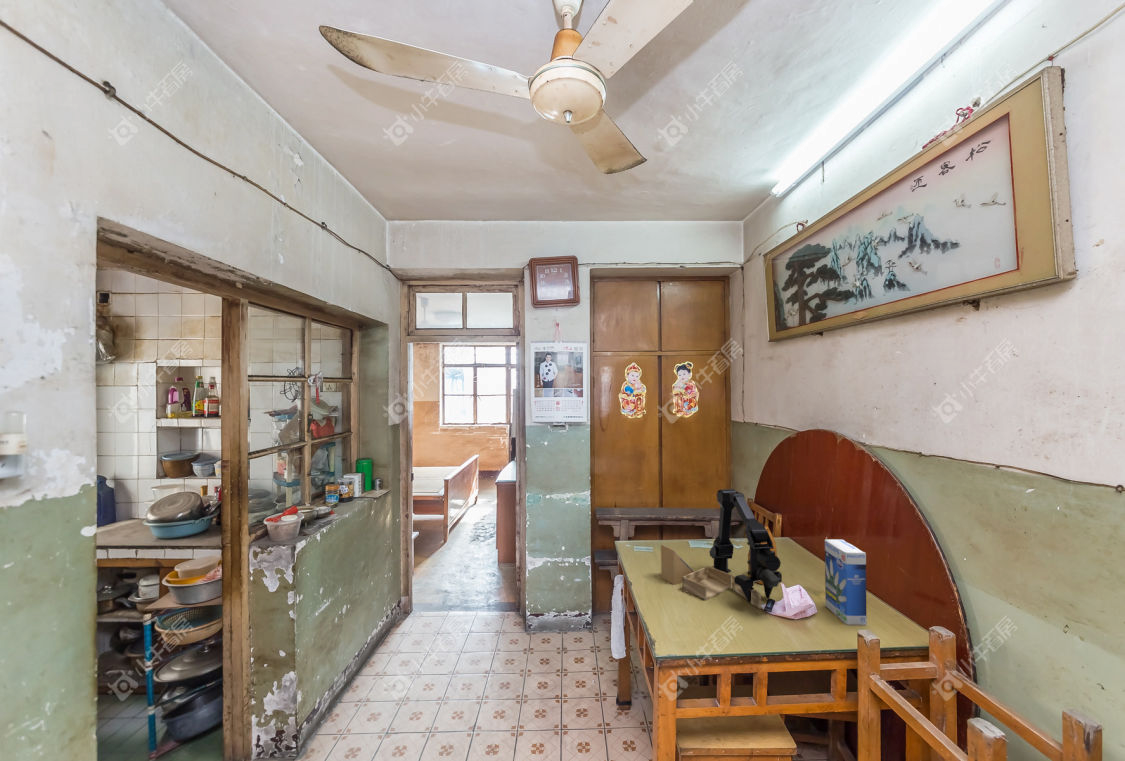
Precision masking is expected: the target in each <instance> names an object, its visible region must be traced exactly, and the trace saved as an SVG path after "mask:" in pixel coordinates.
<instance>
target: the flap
mask: <svg viewBox="0 0 1125 761" xmlns="http://www.w3.org/2000/svg"><path fill="white" fill-rule="evenodd" d="M735 576H736V575H734V574H731V589H732V590H733V591H734V592H736V593H737V594H738V595H739V596H741V597H742V598H744V599H745V600H747V599H746V597H745V594H744V592H743V590H742V589H741V587H740V586H739V585H737V584H736V583H735V579H734V578H735ZM750 604H752V605H753V606H754V607H755V608H757V609H759V610H761V609H762V594H761V593H760V592H758V591H757V590H756V589H755V588H754V589H753V590H752V591H751V603H750Z"/></svg>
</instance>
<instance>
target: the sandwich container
mask: <svg viewBox="0 0 1125 761" xmlns="http://www.w3.org/2000/svg"><path fill="white" fill-rule="evenodd" d="M660 563H661V564H660V567H661V569H660V571H661V572H660V574H661V579H663V580H665V581H667V582H668V583H670V584H671V585H674V586H676V585H679V584H682V577H683V576H686V575H688V574H690V573H693V572H695V571H694V570H693V569H692V567H690V566H689V565H688V564H687V563H686V561H684V560H683V558H682V557H681V556H680V555H679V554H678V553H677V552H676V551H675V550H674V549H672V548H670V547H669V546H666V545H664V544H660Z"/></svg>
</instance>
